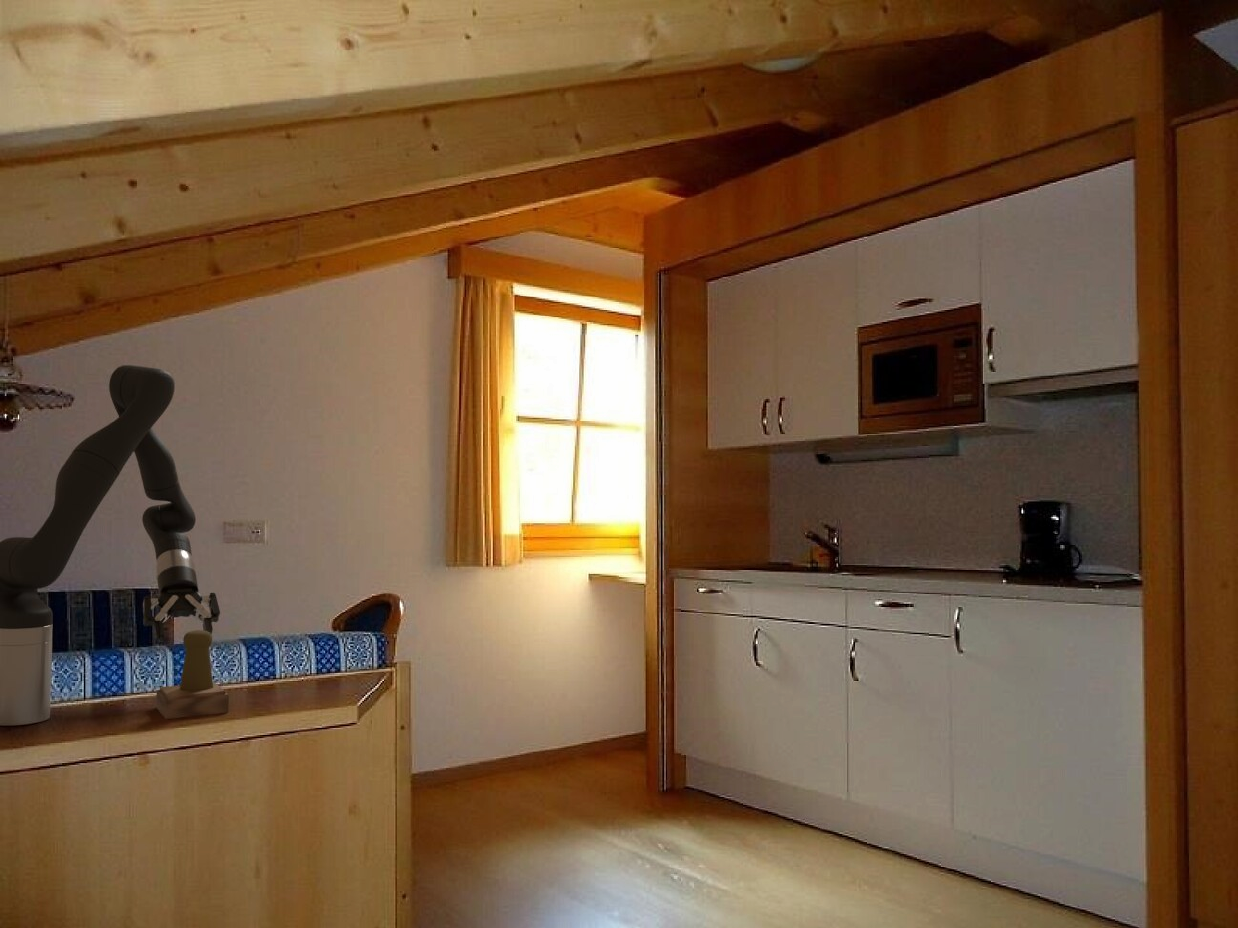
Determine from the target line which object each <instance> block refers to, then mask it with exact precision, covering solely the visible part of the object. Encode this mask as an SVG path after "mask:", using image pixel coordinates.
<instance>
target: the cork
mask: <svg viewBox="0 0 1238 928" xmlns="http://www.w3.org/2000/svg"><path fill="white" fill-rule="evenodd" d="M182 641H183V646H184V647H185V654H184V661H183V666H182V671H181V678H180V690H183V691H201V690H207V689H211V688H213V682H214V681H213V671H212V670H213V669H212V663H211V655H210V654H211V653H210V647H211V646H212V643H213V634H211V633H210V632H208V631H203V630H202V629H201V630H200V629H199V630H198V629H197V630H191V631H188V632H186V633H185V634H184V636H183V640H182Z"/></svg>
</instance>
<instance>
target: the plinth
mask: <svg viewBox="0 0 1238 928" xmlns="http://www.w3.org/2000/svg"><path fill="white" fill-rule="evenodd" d="M155 694H156V695H155V696H156V698H155V699H156V701H155V702H156V703H155V708H156V709H157V710H159V711H158V712H159V713H160V714H161V715H162V717H163V718H164V719H166V720H168V719H169V720H170V719H177V718H187V717H188V718H189V717H197V716H205V715H206V716H207V715H208V716H209V715H215V714H217V715H218V714H226V713H229V702H230V701H229V696H230V695H229V693H228V692H226V690H225V689H224V688H222V687H221V686H220V685H219V684H217V683H216V682H215V681H213V688H211V689H207V690H201V691H183V690H180V685H171V686H170V685H169V686H160V687H159V689H156V693H155Z"/></svg>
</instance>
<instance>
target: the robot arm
mask: <svg viewBox="0 0 1238 928" xmlns="http://www.w3.org/2000/svg"><path fill="white" fill-rule="evenodd" d="M175 386H176V385H175V380H174V377H173V376H172V375H171V373H170V372H168V371H166V370H164V369H161V368H155V367H150V366H149V367H147V366H141V365H131V364H126V365H125V364H124V365H120V366H117V367H116V369H114V371H113V372H112V373H111V375H110V379H109V384H108V390H109V394H110V398H111V401H112V404H113V406H114V409H115V411H116V413H117V415H118V418H116V419H115V420H113V421H112V422H110V423H108V424H107V425H106V426H104V427H102V428H101V429H99V430H98V431H96V432H94V433H92V434H90V435H89V436H88V437H86V438H85V439H84V440H82V441H81V442H80V443H78V445H77V446H76V447H74V448H73V450H72V452H70V453H71V454H69V456H68V458H67V459H66V461H65V462H64V464H63V465H62V466H61V468H60V469H59V471H58V474H57V475H56V476H57V477H56V481H55V482H56V483H55V490H54V492H55V493H54V504H53V506H52V510H51V512H50V513H49V515H48V517H47V518H46V520H45V521H44V523H43V525H42V526H41V527H40V528H39V530H37V532H36V533H35V534H34V536H33V537H24V536H21V537H19V536H16V537H15V536H14V537H8V538H5V539H3V540H1V541H0V726H6V727H7V726H22V725H31V724H35V723H41V722H44V721H46V720H49V719H50V717H51V698H52V697H51V696H52V694H51V692H52V690H51V688H52V661H53V660H52V659H53V657H52V655H53V627H54V626H53V620H54V619H53V618H54V617H53V616H54V613H53V611H52V608H51V607H49V606H48V605H46V604H45V603H44V602H43V601H42V600H41V598H40V596H39V593H38V591H39V589H44V588H47V587H50V586H51V585H52V584H53V583H54V582H56V581H57V580H58V579H59V578H60V576H61V575H62V573H63V571H64V570H65V568H66V566H67V564H68V563H69V560H70V558H71V556H72V554H73V551H74V550H75V548H76V545H77V544H78V542H79V540H80V538H81V536H82V534H83V532H84V530H85V529H86V527H87V525H88V524H89V522H90V520H91V519H92V517H93V515H94V514H95V512H96V511H97V509H98V507H99V505H100V504H101V502H102V501H103V500H104V498H105V496H107V494H108V492H109V491H110V489H111V488H112V487H113V485H114V483H115V482H116V480H117V478H118V477H119V475H120V474H121V472H122V470H123V469H124V466H125V465H126V463H127V462H128V460H129V459H130V458H131V456H132V454H133V453H134V455H135V458H136V460H137V464H138V468H139V473H140V476H141V482H142V485H143V490H144V493H145V495H146V497H147V498H148V499H150V500H152V501H158V502H159V501H161V502H168V503H163V504H157V505H152V506H149V507H148V508H146V509H145V510H144V511H143V514H142V518H141V519H142V521H141V522H142V525H143V527H144V529H145V531H146V534H147V535H148V537H149V538H150V540H151V542H152V544H153V548H154V551H155V560H156V566H155V567H156V569H155V570H156V575H155V576H156V581H157V587H158V598H157V597H156V598H154V597H153V598H151V596H150V595H145V596H144V597H143V603H142V614H143V615H142V616H143V617H142V623H143V626H144V627H149V626H150V627H153V629H154V638H155V640H156V641H157V640H158V642H159V643H163V642H164V639H165V632H164V624H163V623H165V622H166V621H167V620H168V619H169V618H170V617H172V618H173V619H174V618H179V617H184V618H187V617H190V616H191V617H192V618H194V619H195V620H196V621H199V622H200V623H202V629H203V631H208V632H210V633H211V635H213V630H214V629H213V624H212V623H218V621H219V619H220V615H221V611H220V607H219V602H218V599H217V593H215V592H210V593H209V595H202V594H200V591H199V585H198V579H197V578H198V577H197V572H196V565H195V562H194V559H193V555H192V554H193V553H192V548H191V542H190V539H189V537H188V536H187V534H185V533H188V532H190V531H191V530H193V529H194V527H195V524H196V520H197V519H196V514H195V511H194V509H193V507H192V506H191V504H190V503H189V501H188V499H187V498H186V496H185V494H184V492H183V489H182V488H181V485H180V482H179V477H178V472H177V467H176V463H175V460H174V458H173V455H172V453H171V451H170V450H169V448H168V447H167V446H166V444H165V443H164V441H163V440H162V439H161V438H160V436H159V435H158V434H157V432H156V431H155V429H154V428H153V426H154V425H155V424H156V422H157V421H159V418H160V417H162V415H163V414H164V413H165V411H167V409H168V408H169V406H170V404H171V402H172V400H173V397H174V394H175V390H176V389H175ZM202 603H204V604H205V606H206V607H207V608H209V611H207V610H206V609H205V607H204V605H202ZM156 606H158V607H159V608H160V611H159V612H158V614H156V615H155V616H152V610H153V609H155V607H156Z"/></svg>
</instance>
